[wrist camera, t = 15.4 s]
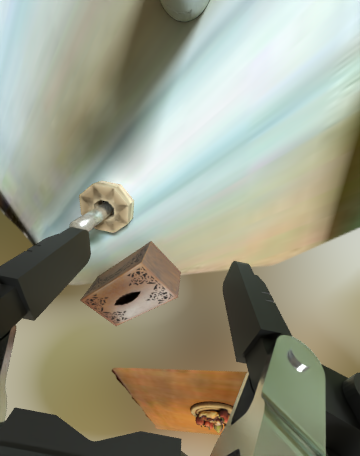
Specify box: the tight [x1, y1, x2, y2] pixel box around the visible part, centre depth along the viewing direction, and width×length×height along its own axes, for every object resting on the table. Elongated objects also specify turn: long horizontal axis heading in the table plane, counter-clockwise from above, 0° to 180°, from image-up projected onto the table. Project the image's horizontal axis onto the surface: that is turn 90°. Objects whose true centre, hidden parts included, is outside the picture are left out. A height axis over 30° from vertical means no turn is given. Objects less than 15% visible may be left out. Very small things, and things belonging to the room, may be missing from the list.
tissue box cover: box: [81, 241, 181, 326], centre depth 49 cm, size 26×14×10 cm, turn 128°
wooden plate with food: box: [191, 402, 233, 433], centre depth 101 cm, size 32×32×8 cm
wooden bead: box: [79, 181, 134, 233], centre depth 41 cm, size 12×12×4 cm
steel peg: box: [70, 201, 114, 232], centre depth 36 cm, size 3×3×14 cm
